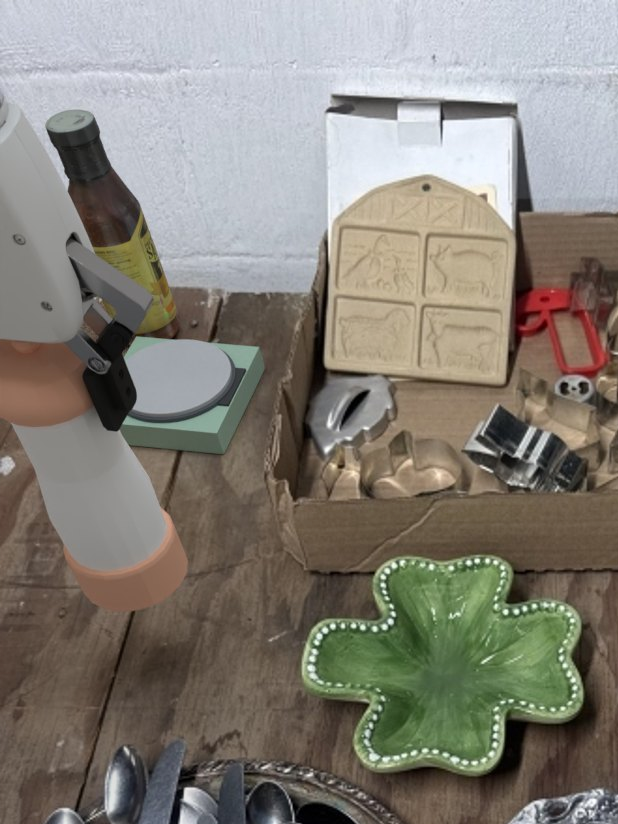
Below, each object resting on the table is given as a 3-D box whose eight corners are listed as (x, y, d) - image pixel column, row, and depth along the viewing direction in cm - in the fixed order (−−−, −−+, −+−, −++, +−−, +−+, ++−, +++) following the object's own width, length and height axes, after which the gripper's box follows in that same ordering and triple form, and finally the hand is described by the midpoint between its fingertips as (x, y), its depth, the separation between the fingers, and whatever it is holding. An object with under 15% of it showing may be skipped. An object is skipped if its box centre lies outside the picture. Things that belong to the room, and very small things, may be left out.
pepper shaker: (152, 624, 71) (40, 389, 55) (59, 595, 73) (-76, 358, 57) (207, 548, 75) (117, 308, 59) (118, 523, 77) (7, 282, 61)
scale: (95, 442, 95) (81, 413, 92) (144, 357, 102) (133, 328, 99) (224, 454, 94) (214, 425, 91) (265, 368, 100) (257, 339, 98)
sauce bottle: (193, 336, 103) (122, 125, 87) (132, 360, 102) (48, 149, 85) (166, 303, 107) (93, 94, 90) (106, 326, 105) (21, 116, 88)
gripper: (-322, 115, 46) (-113, 436, 61) (58, 147, 45) (178, 469, 59) (-226, 35, 50) (-52, 353, 65) (125, 62, 49) (222, 382, 64)
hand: (57, 406), depth 62 cm, fingers closed on pepper shaker, 7 cm apart
